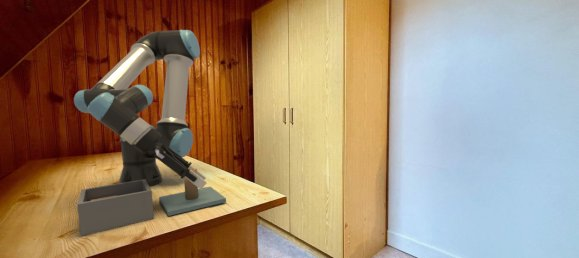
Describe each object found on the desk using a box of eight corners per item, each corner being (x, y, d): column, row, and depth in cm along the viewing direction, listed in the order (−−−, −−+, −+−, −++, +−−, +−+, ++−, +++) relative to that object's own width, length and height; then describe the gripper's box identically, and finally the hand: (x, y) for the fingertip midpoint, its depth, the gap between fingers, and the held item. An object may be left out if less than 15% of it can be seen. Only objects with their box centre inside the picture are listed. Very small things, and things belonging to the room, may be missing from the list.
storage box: (84, 216, 75) (81, 189, 74) (147, 203, 84) (145, 179, 83) (80, 236, 64) (77, 204, 63) (153, 218, 73) (151, 190, 72)
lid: (159, 203, 86) (157, 169, 85) (210, 192, 96) (209, 162, 94) (168, 219, 74) (165, 180, 73) (226, 204, 83) (224, 170, 82)
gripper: (139, 141, 86) (195, 184, 93) (125, 150, 69) (195, 202, 76) (156, 124, 87) (210, 168, 94) (146, 129, 70) (213, 182, 77)
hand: (203, 183), depth 85 cm, fingers open, 5 cm apart
